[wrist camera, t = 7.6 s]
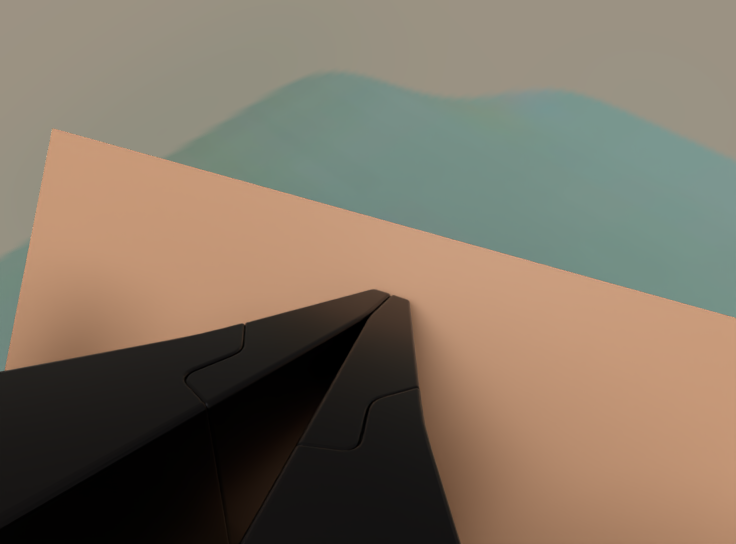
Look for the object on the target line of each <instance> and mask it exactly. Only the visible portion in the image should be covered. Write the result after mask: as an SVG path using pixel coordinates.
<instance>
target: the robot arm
mask: <svg viewBox="0 0 736 544" xmlns="http://www.w3.org/2000/svg"><path fill="white" fill-rule="evenodd" d="M0 544H461V541H460V538H459V535H458V532H457V528H456V525H455V522H454V519H453V515H452V512H451V509H450V506H449V502H448V499H447V496H446V493H445V489H444V486H443V483H442V480H441V476H440V473H439V470H438V467H437V463H436V460H435V457H434V454H433V450H432V447H431V443H430V439H429V436H428V432H427V428H426V424H425V418H424V412H423V406H422V399H421V391H420V386H419V377H418V369H417V360H416V351H415V343H414V334H413V325H412V317H411V308H410V302H409V300H407V299H405V298H401V297H398V296H395V295H392V296H390V294H389V293H386V292H383V291H380V290H377V289H371V290H367V291H363V292H359V293H356V294H352V295H348V296H344V297H341V298H337V299H333V300H329V301H325V302H322V303H318V304H314V305H310V306H307V307H303V308H299V309H295V310H292V311H288V312H284V313H280V314H276V315H273V316H269V317H265V318H261V319H258V320H254V321H250V322H247V323H245V325H244V323H240V324H236V325H233V326H229V327H225V328H221V329H217V330H213V331H209V332H204V333H200V334H196V335H191V336H186V337H181V338H176V339H171V340H166V341H160V342H155V343H150V344H145V345H139V346H134V347H129V348H123V349H118V350H113V351H107V352H102V353H97V354H91V355H86V356H81V357H75V358H70V359H65V360H60V361H54V362H49V363H44V364H38V365H33V366H28V367H22V368H17V369H12V370H6V371H1V372H0Z"/></svg>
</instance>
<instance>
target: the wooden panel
mask: <svg viewBox="0 0 736 544" xmlns="http://www.w3.org/2000/svg"><path fill="white" fill-rule="evenodd" d="M371 289H377V290H380V291H383V292H386V293H389V294H390V296H392V295H395V296H398V297H401V298H405V299H407V300H409V302H410V308H411V317H412V325H413V334H414V343H415V351H416V360H417V369H418V377H419V386H420V391H421V399H422V406H423V412H424V418H425V424H426V428H427V432H428V436H429V439H430V443H431V447H432V450H433V454H434V457H435V460H436V463H437V467H438V470H439V473H440V476H441V480H442V483H443V486H444V489H445V493H446V496H447V499H448V502H449V506H450V509H451V512H452V515H453V519H454V522H455V525H456V528H457V532H458V535H459V538H460V541H461V544H736V318H734V317H730V316H727V315H723V314H719V313H716V312H712V311H709V310H705V309H701V308H698V307H694V306H691V305H687V304H683V303H680V302H676V301H673V300H669V299H665V298H662V297H658V296H655V295H651V294H647V293H644V292H640V291H637V290H633V289H629V288H626V287H622V286H619V285H615V284H611V283H608V282H604V281H601V280H597V279H593V278H590V277H586V276H583V275H579V274H575V273H572V272H568V271H565V270H561V269H557V268H554V267H550V266H547V265H543V264H539V263H536V262H532V261H529V260H525V259H521V258H518V257H514V256H511V255H507V254H503V253H500V252H496V251H493V250H489V249H485V248H482V247H478V246H475V245H471V244H467V243H464V242H460V241H457V240H453V239H449V238H446V237H442V236H439V235H435V234H431V233H428V232H424V231H421V230H417V229H413V228H410V227H406V226H403V225H399V224H395V223H392V222H388V221H385V220H381V219H377V218H374V217H370V216H367V215H363V214H359V213H356V212H352V211H349V210H345V209H341V208H338V207H334V206H331V205H327V204H323V203H320V202H316V201H312V200H309V199H305V198H302V197H298V196H294V195H291V194H287V193H284V192H280V191H276V190H273V189H269V188H266V187H262V186H258V185H255V184H251V183H248V182H244V181H240V180H237V179H233V178H230V177H226V176H222V175H219V174H215V173H212V172H208V171H204V170H201V169H197V168H194V167H190V166H186V165H183V164H179V163H176V162H172V161H168V160H165V159H161V158H158V157H154V156H150V155H147V154H143V153H140V152H136V151H132V150H129V149H125V148H122V147H118V146H114V145H111V144H107V143H104V142H100V141H96V140H93V139H89V138H86V137H82V136H78V135H74V134H71V133H68V132H64V131H60V130H57V129H52V132H51V138H50V143H49V148H48V153H47V158H46V163H45V168H44V173H43V178H42V184H41V189H40V194H39V199H38V204H37V209H36V214H35V219H34V224H33V229H32V235H31V239H30V245H29V250H28V255H27V260H26V265H25V270H24V275H23V280H22V285H21V290H20V296H19V301H18V306H17V311H16V316H15V321H14V326H13V331H12V336H11V341H10V347H9V352H8V357H7V362H6V367H5V371H6V370H12V369H17V368H22V367H28V366H33V365H38V364H44V363H49V362H54V361H60V360H65V359H70V358H75V357H81V356H86V355H91V354H97V353H102V352H107V351H113V350H118V349H123V348H129V347H134V346H139V345H145V344H150V343H155V342H160V341H166V340H171V339H176V338H181V337H186V336H191V335H196V334H200V333H204V332H209V331H213V330H217V329H221V328H225V327H229V326H233V325H236V324H240V323H244V325H245V323H247V322H250V321H254V320H258V319H261V318H265V317H269V316H273V315H276V314H280V313H284V312H288V311H292V310H295V309H299V308H303V307H307V306H310V305H314V304H318V303H322V302H325V301H329V300H333V299H337V298H341V297H344V296H348V295H352V294H356V293H359V292H363V291H367V290H371Z"/></svg>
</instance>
